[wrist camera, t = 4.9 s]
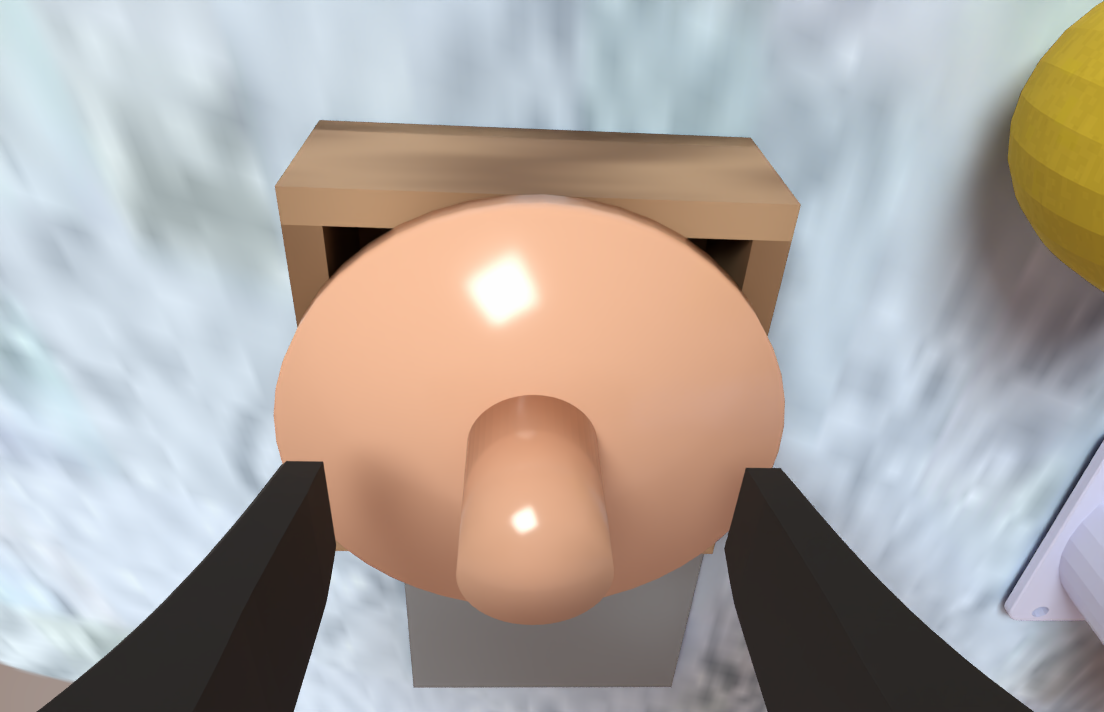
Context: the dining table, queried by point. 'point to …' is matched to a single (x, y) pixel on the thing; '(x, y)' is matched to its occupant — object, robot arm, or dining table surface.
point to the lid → (530, 402)
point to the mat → (554, 640)
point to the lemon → (1065, 148)
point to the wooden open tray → (532, 191)
